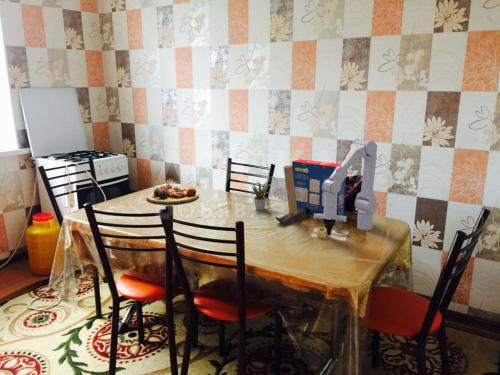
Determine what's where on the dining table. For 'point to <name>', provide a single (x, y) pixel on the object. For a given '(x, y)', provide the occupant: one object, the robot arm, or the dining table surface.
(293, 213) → the hammer
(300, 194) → the blue product box
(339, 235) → the striped beige square plate
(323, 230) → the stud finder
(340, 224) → the grey-capped tan cylinder
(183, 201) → the wooden plate with food
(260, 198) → the house plant
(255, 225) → the dining table surface
